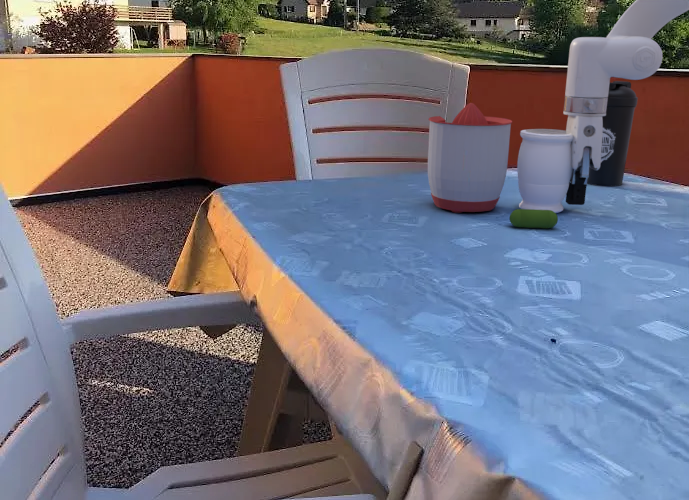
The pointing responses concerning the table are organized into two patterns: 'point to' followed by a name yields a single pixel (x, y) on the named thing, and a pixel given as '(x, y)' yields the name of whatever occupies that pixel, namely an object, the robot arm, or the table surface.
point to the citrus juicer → (468, 160)
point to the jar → (544, 168)
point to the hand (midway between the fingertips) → (574, 203)
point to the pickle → (533, 218)
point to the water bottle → (615, 135)
